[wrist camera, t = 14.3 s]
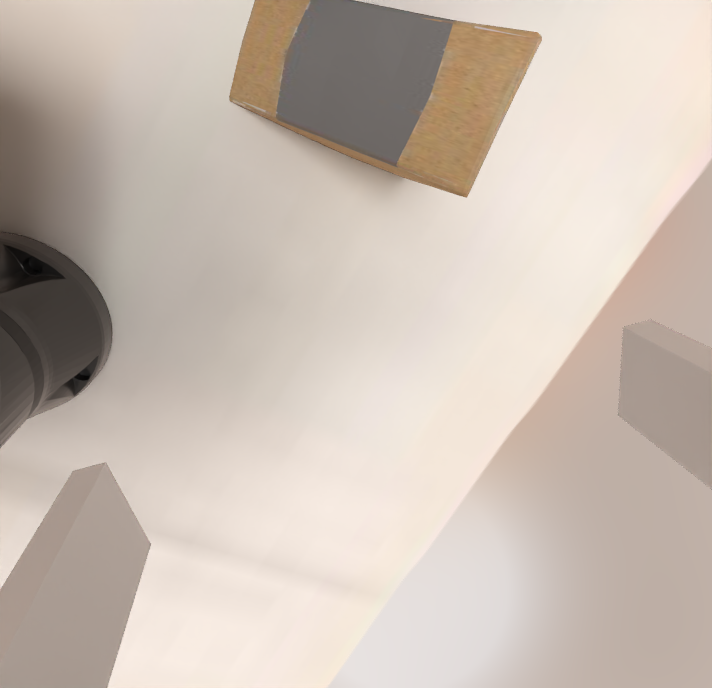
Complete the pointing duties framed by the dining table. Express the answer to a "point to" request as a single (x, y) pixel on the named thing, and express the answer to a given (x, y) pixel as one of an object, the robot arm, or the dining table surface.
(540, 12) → the dining table surface
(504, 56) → the sandwich container
